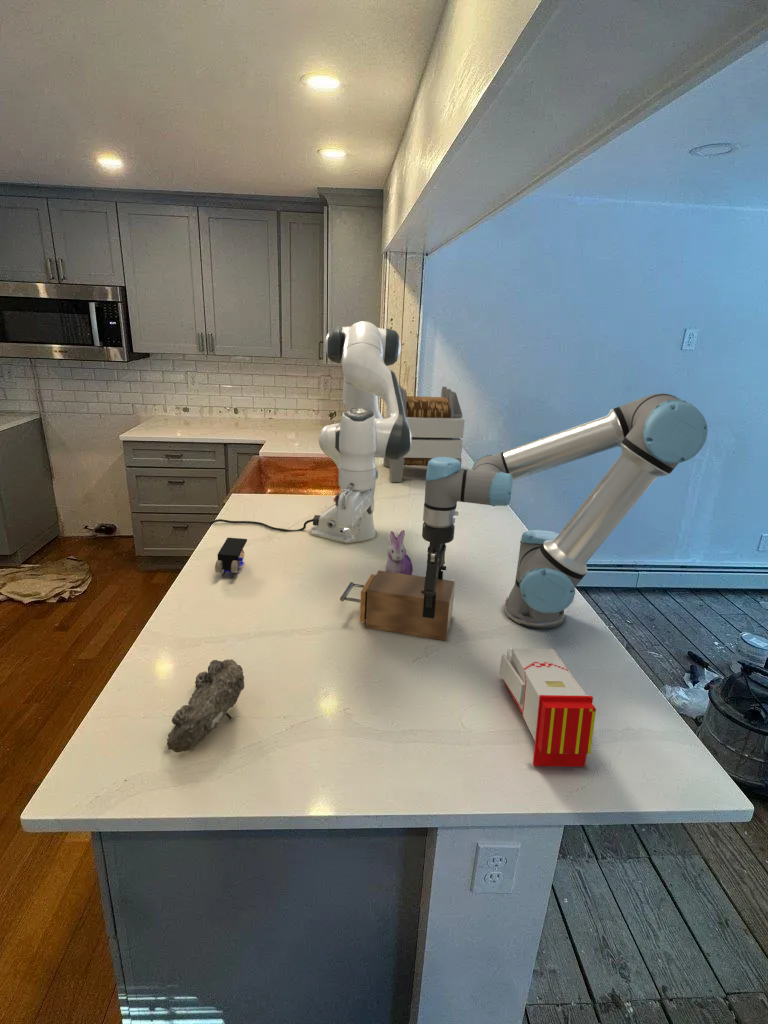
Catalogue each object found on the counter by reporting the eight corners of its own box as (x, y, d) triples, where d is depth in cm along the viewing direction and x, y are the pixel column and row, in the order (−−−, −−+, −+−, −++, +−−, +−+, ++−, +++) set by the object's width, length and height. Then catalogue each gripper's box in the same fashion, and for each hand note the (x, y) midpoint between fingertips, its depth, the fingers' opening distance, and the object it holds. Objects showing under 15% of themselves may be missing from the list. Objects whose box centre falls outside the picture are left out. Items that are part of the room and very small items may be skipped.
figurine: (392, 589, 160) (394, 540, 155) (375, 574, 168) (377, 527, 163) (420, 583, 164) (424, 535, 159) (403, 569, 172) (406, 523, 167)
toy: (549, 630, 124) (606, 704, 95) (544, 686, 127) (597, 774, 98) (495, 629, 124) (534, 703, 95) (490, 685, 127) (527, 774, 97)
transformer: (382, 463, 289) (386, 382, 275) (445, 464, 293) (451, 384, 279) (390, 482, 257) (394, 392, 243) (460, 483, 261) (468, 394, 247)
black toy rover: (238, 584, 162) (249, 557, 175) (236, 562, 158) (247, 536, 172) (215, 584, 161) (227, 556, 175) (212, 561, 158) (225, 535, 171)
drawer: (338, 618, 142) (339, 588, 139) (350, 599, 152) (350, 570, 149) (433, 634, 137) (436, 602, 134) (439, 613, 147) (442, 584, 144)
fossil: (192, 660, 117) (244, 628, 112) (224, 691, 120) (276, 661, 115) (142, 746, 98) (202, 712, 93) (182, 779, 101) (242, 748, 96)
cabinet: (365, 627, 140) (367, 589, 137) (376, 606, 151) (378, 570, 147) (445, 641, 136) (449, 602, 133) (451, 617, 147) (455, 581, 143)
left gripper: (357, 492, 124) (356, 550, 129) (379, 469, 143) (377, 520, 148) (330, 489, 125) (329, 546, 130) (355, 466, 144) (354, 517, 149)
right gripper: (448, 544, 121) (440, 632, 129) (460, 508, 143) (453, 586, 151) (413, 539, 123) (408, 627, 130) (430, 505, 145) (425, 582, 152)
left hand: (355, 532), depth 139 cm, fingers closed
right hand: (432, 605), depth 141 cm, fingers closed on cabinet, 11 cm apart
